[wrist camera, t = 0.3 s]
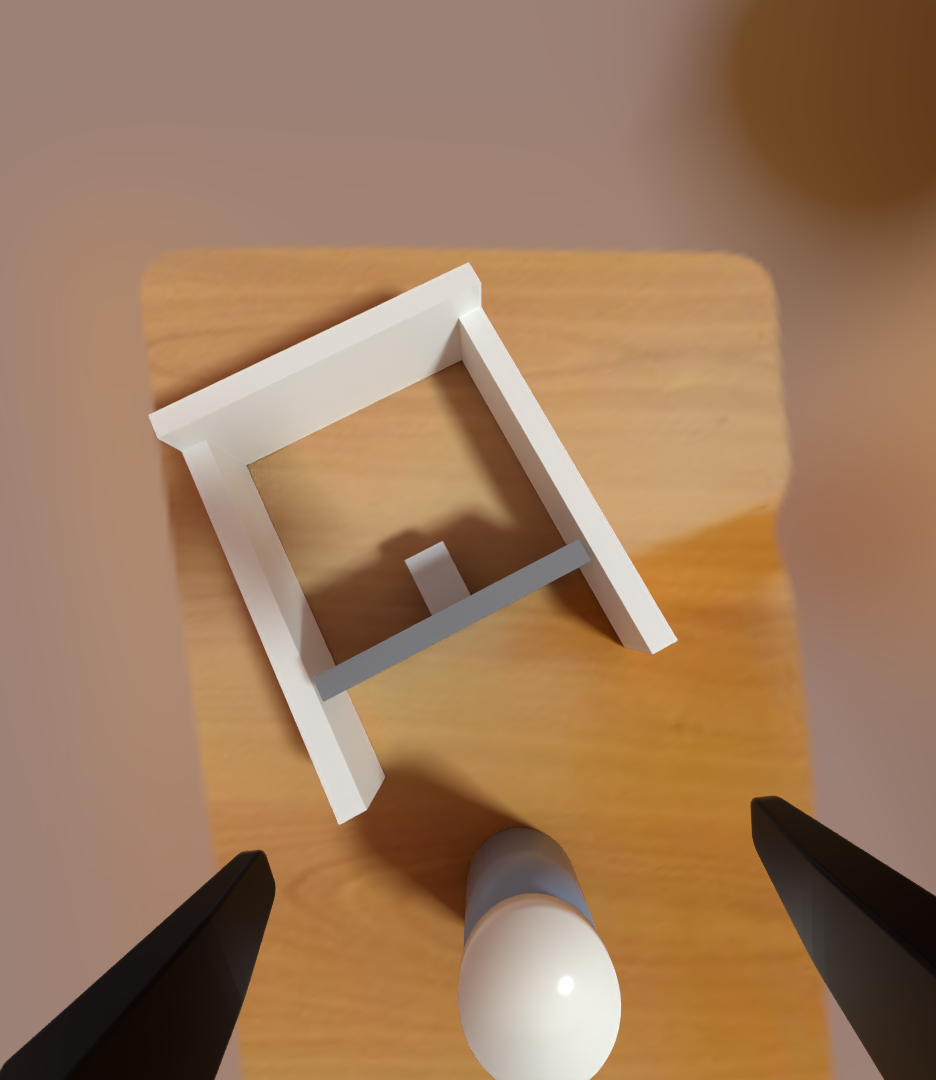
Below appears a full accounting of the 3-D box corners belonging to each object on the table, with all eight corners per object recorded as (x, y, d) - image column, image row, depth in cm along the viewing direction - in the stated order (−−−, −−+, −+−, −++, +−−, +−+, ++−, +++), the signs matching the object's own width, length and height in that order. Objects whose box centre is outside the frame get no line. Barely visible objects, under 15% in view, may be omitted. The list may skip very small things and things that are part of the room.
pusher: (569, 571, 22) (591, 560, 17) (355, 684, 21) (323, 702, 17) (530, 502, 22) (542, 475, 18) (321, 609, 22) (282, 608, 17)
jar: (600, 917, 19) (651, 1043, 14) (497, 976, 19) (506, 1130, 13) (544, 803, 20) (569, 878, 15) (444, 859, 20) (430, 957, 14)
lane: (645, 636, 21) (695, 642, 16) (362, 789, 21) (325, 844, 16) (470, 333, 24) (468, 262, 19) (217, 456, 24) (148, 414, 19)
